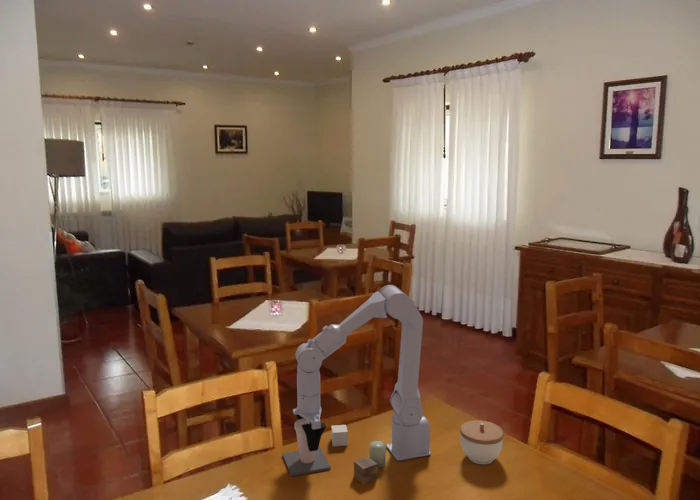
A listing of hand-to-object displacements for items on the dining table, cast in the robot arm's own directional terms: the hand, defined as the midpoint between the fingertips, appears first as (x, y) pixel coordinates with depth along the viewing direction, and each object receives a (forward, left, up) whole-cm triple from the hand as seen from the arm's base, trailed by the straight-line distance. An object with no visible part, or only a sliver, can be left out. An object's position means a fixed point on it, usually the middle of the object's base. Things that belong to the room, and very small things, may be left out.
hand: (309, 442), depth 141 cm
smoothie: (+1, 0, -5) cm, 5 cm away
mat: (+1, 0, -5) cm, 5 cm away
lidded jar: (-42, +12, -5) cm, 44 cm away
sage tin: (-16, +6, -5) cm, 18 cm away
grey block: (-10, -7, -5) cm, 13 cm away
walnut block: (-11, +11, -5) cm, 16 cm away
